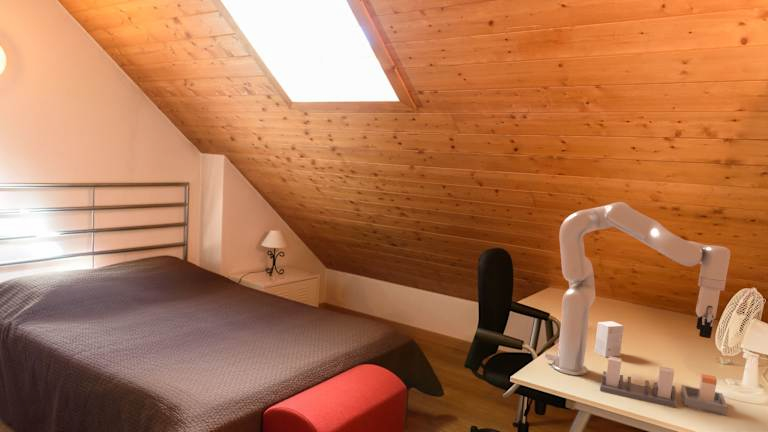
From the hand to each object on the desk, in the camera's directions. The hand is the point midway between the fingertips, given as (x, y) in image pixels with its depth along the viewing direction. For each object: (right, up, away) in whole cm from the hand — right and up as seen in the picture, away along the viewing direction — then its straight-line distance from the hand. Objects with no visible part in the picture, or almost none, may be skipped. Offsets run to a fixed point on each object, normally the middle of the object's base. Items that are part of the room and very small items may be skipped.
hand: (703, 333), depth 180 cm
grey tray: (0, -24, 0) cm, 24 cm away
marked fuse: (+1, -23, 0) cm, 23 cm away
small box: (-14, -18, +44) cm, 49 cm away
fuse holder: (-20, -22, +5) cm, 30 cm away
